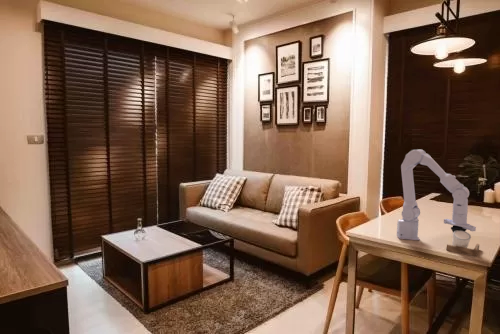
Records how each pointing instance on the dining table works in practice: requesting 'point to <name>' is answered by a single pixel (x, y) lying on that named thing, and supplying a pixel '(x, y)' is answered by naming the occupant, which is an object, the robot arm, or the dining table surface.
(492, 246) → the dining table surface
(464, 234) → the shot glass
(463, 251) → the corner stop
